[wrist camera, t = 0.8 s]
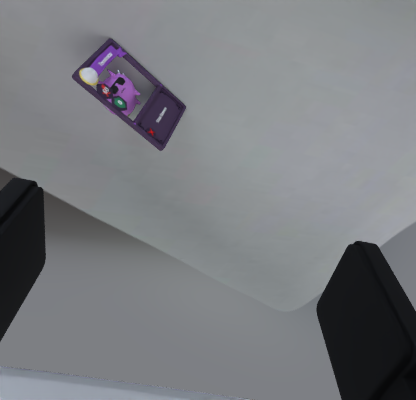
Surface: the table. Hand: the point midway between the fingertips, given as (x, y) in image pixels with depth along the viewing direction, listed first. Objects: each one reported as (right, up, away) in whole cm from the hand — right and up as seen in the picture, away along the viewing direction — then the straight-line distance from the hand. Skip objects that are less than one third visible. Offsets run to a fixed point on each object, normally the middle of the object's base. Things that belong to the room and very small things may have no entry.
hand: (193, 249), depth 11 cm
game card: (-7, +12, +24) cm, 28 cm away
